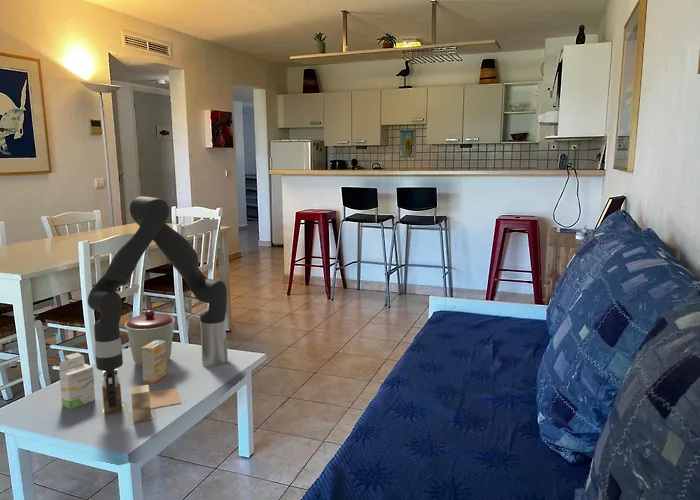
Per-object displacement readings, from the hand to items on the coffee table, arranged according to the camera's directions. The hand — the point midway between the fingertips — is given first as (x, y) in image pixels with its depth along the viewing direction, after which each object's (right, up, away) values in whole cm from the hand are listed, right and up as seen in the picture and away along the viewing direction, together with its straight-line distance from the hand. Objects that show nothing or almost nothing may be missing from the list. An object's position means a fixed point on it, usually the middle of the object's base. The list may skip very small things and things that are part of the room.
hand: (112, 400), depth 159 cm
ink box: (-13, -2, +4) cm, 14 cm away
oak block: (+11, -4, -4) cm, 12 cm away
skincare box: (-18, -1, +14) cm, 23 cm away
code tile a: (0, -3, 0) cm, 3 cm away
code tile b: (+11, -4, -4) cm, 12 cm away
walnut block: (0, -3, 0) cm, 3 cm away
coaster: (+12, -2, +7) cm, 14 cm away
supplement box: (+5, +1, +23) cm, 24 cm away
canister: (-2, +4, +38) cm, 38 cm away
